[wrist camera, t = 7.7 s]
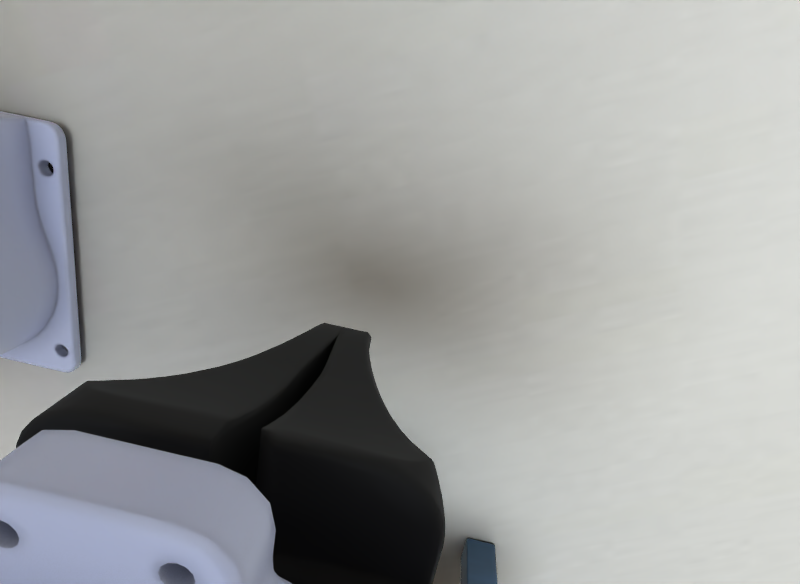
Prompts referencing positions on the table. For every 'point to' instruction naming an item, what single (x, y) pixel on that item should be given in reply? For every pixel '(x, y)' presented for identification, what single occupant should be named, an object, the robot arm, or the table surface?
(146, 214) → the table surface
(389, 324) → the table surface
